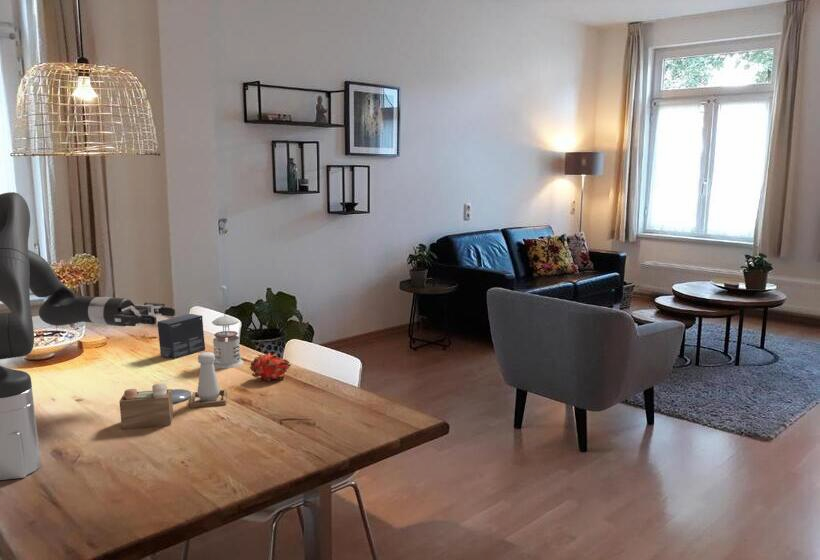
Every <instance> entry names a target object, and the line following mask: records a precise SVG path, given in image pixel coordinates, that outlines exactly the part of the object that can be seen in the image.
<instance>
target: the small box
mask: <svg viewBox="0 0 820 560" xmlns="http://www.w3.org/2000/svg"><path fill="white" fill-rule="evenodd" d="M203 322H204V321H203V315H199V314H193V313H187V314H183V315H179V316H173V317H171V318H166V319H163V320H159V321H157V323H156V324H157V331H158V343H159V351H160V357H161V358H162V357H163V358H167V359H170V360H175V358H176V359H178V358H183V357H186V356H188V355H192V354H195V353H199V352H201V351H204V350H206V344H205V335H204V323H203Z"/></svg>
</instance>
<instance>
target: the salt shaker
mask: <svg viewBox="0 0 820 560" xmlns="http://www.w3.org/2000/svg"><path fill="white" fill-rule="evenodd" d="M197 361H198V363H199V364H200V365H199V374H198V375H199V376H198V384H197V385H198V386H197V391H196V392H197V394H198V396H197V397H198V398H199V399H200V402H210V401H218V400H217V399H219V396H220V395H219V393H220V390H221V389H220V385H219V382H218V377H217V373H216V368H215V367H214V365H213V363H214V361H215V355H214V352H211V351H205V352H204V351H203V352H201V353H199V354H198V356H197Z"/></svg>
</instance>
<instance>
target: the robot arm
mask: <svg viewBox="0 0 820 560" xmlns="http://www.w3.org/2000/svg"><path fill="white" fill-rule="evenodd" d="M30 212H31V211H30V209H29V206H28V203H27V201H26V199H25V198H24V197H23V196H22V195H21V194H20V193H18V192H4V193H1V194H0V302H1V303H3V304H4V305H5V306H6V307H7V308H8V309H9V311H10V312H9V311H8V312H0V360H7V359H15V358H16V359H17V358H21V357H25V356H28V355H30V354H31V353H32V351H33V349H34V343H35V332H34V322H33V321H34V320H33V316H32V315H33V314H32V308H31V307H32V306H31V300H30V299H31V298H30V296H31V295H30V292H31V293H32V294H33V295H34V296H35V297H37V298H47V299H46V300H45V301H44V302H43V303H42V304H41V306H40V307H39V309H38V316H39V318H40V319H41V320H42V321H43V322H44V323H45V324H48V325H51V326H55V327H56V326H58V327H59V326H67V325H73V324H78V323H82V322H83V323H91V324H92V323H93V324H98V325H105V326H113V327H114V326H115V327H123V328H124V327H136V325H138V326H141V325H143V324H144V325H150V326H151V325H157V324H158V323H157V322H158V321H157V316H166V317H167V316H168V317H175V316H176V308H175V307H170V306H166V304H165V303H158V302H155V303H154V302H144V303H143V304H134V303H133V301H132V300H131V299H129V298H123V297H112V296H111V297H110V296H101V297H100V296H88V295H83V296H79V297H77V294H76V293H75V292H74V291H73V290H72V289H70V288H69V287H68V286H67V285H66V284H65V283H64V282H62V281H61V280H60V279H59V278H58V276H57V275H56V273H55V271H54V270H53V268H52V267H51V266H50V264H49V262H48V261H47V260H46V259H45V258H43V256H41V255H39V254H38V253H36V252H34V251H32V250H29V236H30V229H31V228H30V227H31V213H30ZM32 384H33V383H32V377H31V375H30V374H29V373H28V372H26V371H23V370H17V369H13V368H7V367H5V366H3V365H0V481H4V480H11V479H13V480H14V479H24V478H26V477H27V475H29V474H32V473H33V472H36V471H37V470H38V469H39V468H40V467H41V466H42V459H41V452H40V444H39V436H38V428H37V427H38V426H37V420H36V418H37V417H36V412H35V411H36V410H35V403H34V394H33V393H34V392H33V386H32Z"/></svg>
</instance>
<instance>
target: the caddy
mask: <svg viewBox="0 0 820 560" xmlns="http://www.w3.org/2000/svg"><path fill="white" fill-rule="evenodd" d="M151 387H152V390H146V391H145V390H143V391H138V390H137V389H136V388H131V389H126V390H124V393H123V394H122V396H121V398H120V400H119V411H120V412H119V413H120V422H121V430H130V429H140V428H141V429H142V428H149V427H151V428H152V427H161V426H162V427H163V426H170V425H172V421H173V418H174V404H173V402H172V390H173V389H172V388H171V389H170V388H169V389H167V387H168V386H167V383H164V382H159V383H155V384H153V385H152V386H151Z"/></svg>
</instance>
